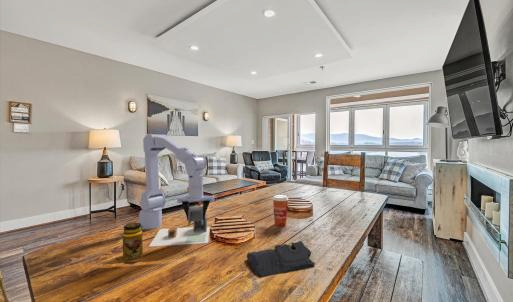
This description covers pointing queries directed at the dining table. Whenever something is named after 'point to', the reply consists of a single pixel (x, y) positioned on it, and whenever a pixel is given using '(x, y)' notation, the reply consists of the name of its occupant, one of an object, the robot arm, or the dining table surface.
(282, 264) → the folded black cloth
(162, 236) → the board
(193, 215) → the left cover
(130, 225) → the condiment
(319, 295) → the dining table surface
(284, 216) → the paper cup
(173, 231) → the letter cube
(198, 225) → the right cover
